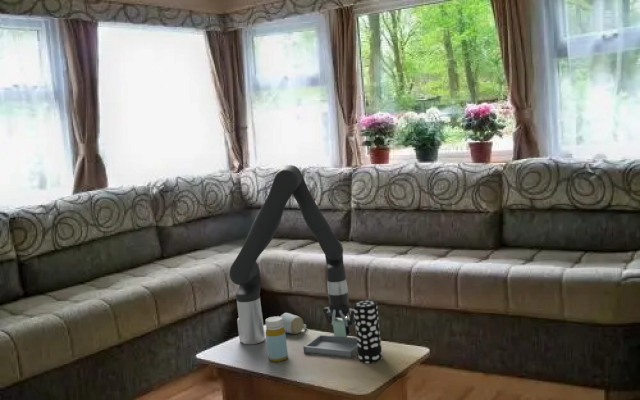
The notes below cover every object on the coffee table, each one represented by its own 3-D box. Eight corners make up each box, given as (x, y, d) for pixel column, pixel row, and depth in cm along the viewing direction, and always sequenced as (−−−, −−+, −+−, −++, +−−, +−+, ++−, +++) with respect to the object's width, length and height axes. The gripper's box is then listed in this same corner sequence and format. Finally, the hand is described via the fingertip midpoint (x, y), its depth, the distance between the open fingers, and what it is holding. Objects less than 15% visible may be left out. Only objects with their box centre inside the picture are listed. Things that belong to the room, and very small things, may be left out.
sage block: (334, 337, 249) (332, 322, 248) (339, 333, 253) (338, 318, 252) (344, 338, 247) (343, 323, 246) (350, 333, 251) (348, 318, 250)
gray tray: (304, 353, 240) (303, 346, 240) (320, 340, 251) (319, 334, 250) (351, 358, 230) (350, 351, 230) (366, 345, 241) (365, 338, 241)
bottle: (278, 363, 232) (273, 323, 230) (265, 360, 237) (260, 320, 235) (292, 356, 238) (287, 317, 235) (278, 353, 242) (274, 314, 240)
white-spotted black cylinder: (355, 362, 226) (350, 307, 223) (362, 353, 234) (356, 299, 231) (379, 363, 223) (373, 307, 220) (384, 354, 231) (379, 299, 228)
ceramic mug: (292, 337, 258) (291, 318, 257) (278, 333, 264) (276, 315, 263) (311, 329, 266) (309, 311, 265) (297, 326, 271) (295, 308, 270)
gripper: (316, 293, 248) (321, 336, 250) (350, 295, 241) (354, 339, 243) (326, 287, 254) (330, 329, 257) (359, 289, 247) (363, 332, 250)
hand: (342, 334), depth 250 cm, fingers closed on sage block, 4 cm apart
